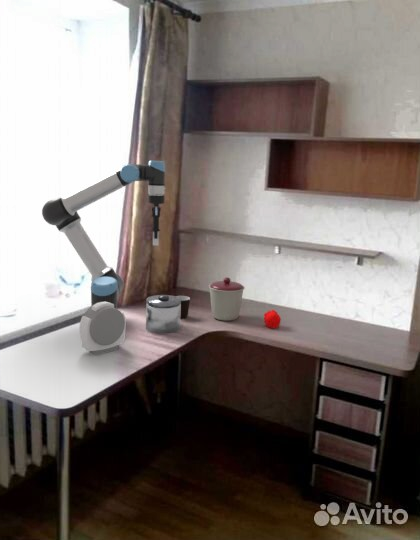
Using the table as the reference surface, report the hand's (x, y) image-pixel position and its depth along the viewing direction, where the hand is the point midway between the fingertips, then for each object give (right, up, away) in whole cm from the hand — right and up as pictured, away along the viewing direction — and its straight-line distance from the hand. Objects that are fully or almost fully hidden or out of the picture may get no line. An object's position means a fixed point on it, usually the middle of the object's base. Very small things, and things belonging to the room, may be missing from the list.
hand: (155, 245), depth 238 cm
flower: (+56, -40, +7) cm, 69 cm away
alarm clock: (-18, -45, -31) cm, 58 cm away
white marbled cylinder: (+4, -39, -1) cm, 39 cm away
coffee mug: (+11, -36, +18) cm, 41 cm away
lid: (+4, -27, -4) cm, 28 cm away
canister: (+33, -36, +19) cm, 53 cm away
